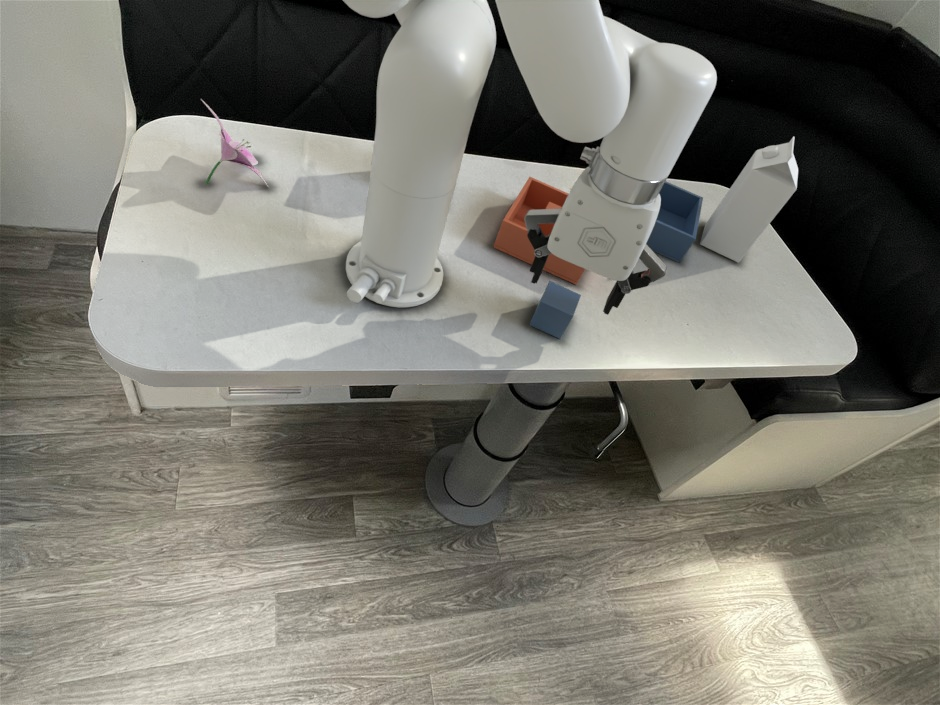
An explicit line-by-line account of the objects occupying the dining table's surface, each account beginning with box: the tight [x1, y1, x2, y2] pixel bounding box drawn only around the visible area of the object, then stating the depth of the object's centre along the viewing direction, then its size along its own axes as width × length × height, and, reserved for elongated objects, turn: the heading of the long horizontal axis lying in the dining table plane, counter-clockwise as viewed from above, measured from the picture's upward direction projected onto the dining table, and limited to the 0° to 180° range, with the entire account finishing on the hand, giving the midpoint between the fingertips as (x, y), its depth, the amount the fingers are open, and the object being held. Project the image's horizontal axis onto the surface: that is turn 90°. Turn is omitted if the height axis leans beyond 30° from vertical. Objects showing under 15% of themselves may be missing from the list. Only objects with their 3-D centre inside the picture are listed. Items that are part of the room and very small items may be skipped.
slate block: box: [528, 280, 582, 340], centre depth 77 cm, size 4×4×4 cm
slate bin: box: [646, 180, 704, 264], centre depth 97 cm, size 13×13×5 cm
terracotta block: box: [539, 202, 562, 236], centre depth 87 cm, size 4×4×4 cm
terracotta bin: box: [493, 176, 586, 286], centre depth 87 cm, size 13×13×5 cm
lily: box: [200, 98, 269, 187], centre depth 78 cm, size 12×12×10 cm
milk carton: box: [699, 136, 799, 264], centre depth 94 cm, size 7×7×19 cm
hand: (571, 291), depth 74 cm, fingers open, 9 cm apart
